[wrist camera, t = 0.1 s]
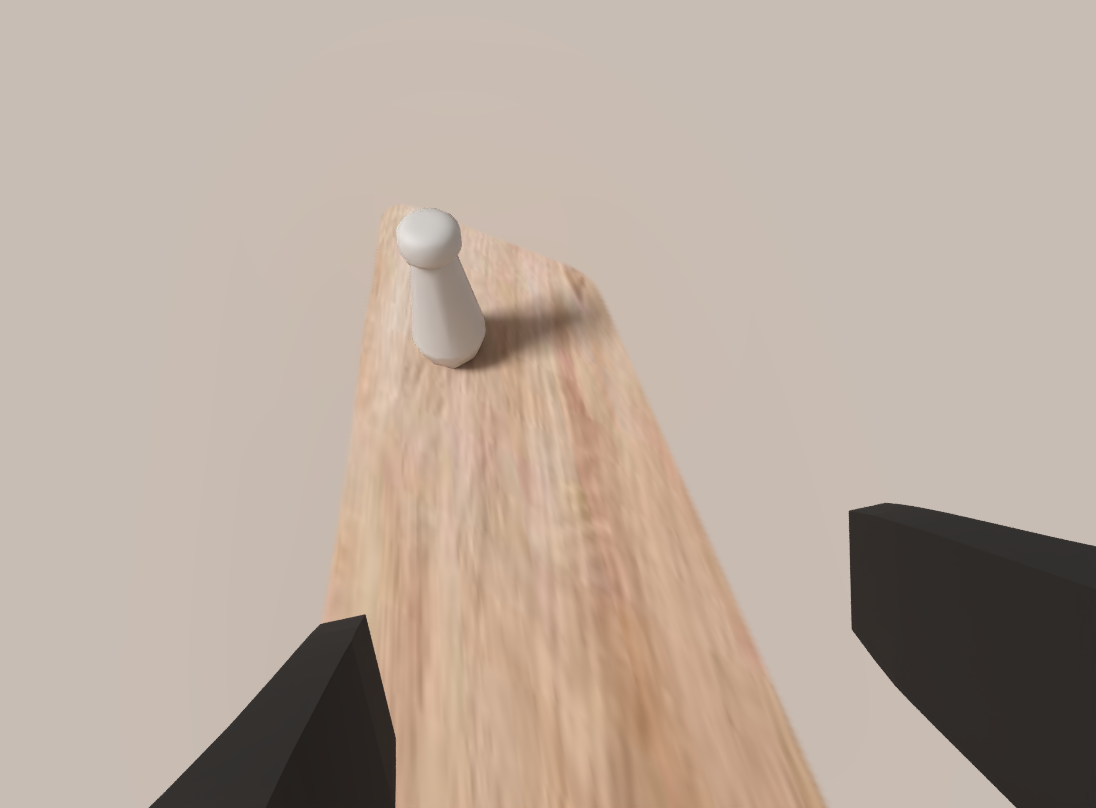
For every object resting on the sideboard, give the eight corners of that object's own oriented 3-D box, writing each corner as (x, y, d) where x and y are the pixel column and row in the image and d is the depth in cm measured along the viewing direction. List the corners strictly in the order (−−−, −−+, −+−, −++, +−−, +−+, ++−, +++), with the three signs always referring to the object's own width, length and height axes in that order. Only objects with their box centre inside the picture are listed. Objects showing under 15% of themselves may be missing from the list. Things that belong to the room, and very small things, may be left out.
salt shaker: (492, 323, 55) (476, 195, 44) (484, 377, 52) (465, 254, 41) (423, 320, 55) (390, 193, 44) (411, 375, 52) (373, 252, 41)
